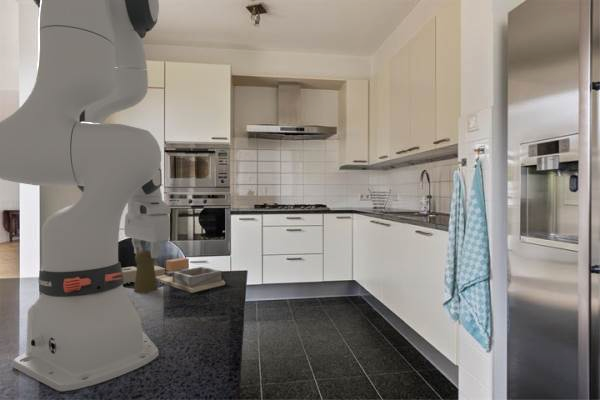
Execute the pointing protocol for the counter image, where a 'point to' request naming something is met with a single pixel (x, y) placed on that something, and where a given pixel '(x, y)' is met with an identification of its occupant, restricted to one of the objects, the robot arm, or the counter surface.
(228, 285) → the counter surface
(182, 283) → the rail panel
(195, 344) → the counter surface
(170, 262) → the block
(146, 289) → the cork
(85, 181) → the robot arm
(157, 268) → the electrical outlet
